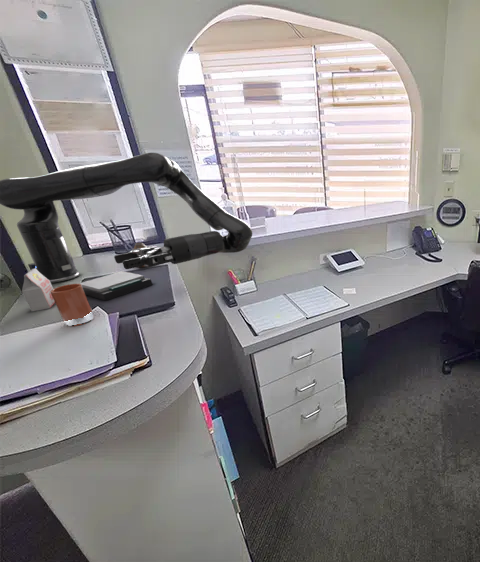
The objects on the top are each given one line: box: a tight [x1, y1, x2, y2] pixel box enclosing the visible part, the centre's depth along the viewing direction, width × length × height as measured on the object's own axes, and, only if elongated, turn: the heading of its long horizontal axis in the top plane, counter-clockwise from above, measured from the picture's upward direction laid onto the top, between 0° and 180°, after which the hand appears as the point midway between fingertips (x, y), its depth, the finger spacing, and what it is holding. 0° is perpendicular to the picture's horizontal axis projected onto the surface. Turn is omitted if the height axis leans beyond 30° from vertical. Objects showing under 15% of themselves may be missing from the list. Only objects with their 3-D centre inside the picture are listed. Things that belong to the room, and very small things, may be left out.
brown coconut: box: [133, 242, 149, 268], centre depth 117 cm, size 7×7×9 cm
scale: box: [78, 270, 153, 301], centre depth 96 cm, size 15×13×3 cm
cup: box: [50, 283, 93, 327], centre depth 75 cm, size 5×5×9 cm
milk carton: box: [21, 268, 56, 312], centre depth 85 cm, size 4×7×10 cm, turn 31°
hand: (119, 262), depth 80 cm, fingers open, 8 cm apart
